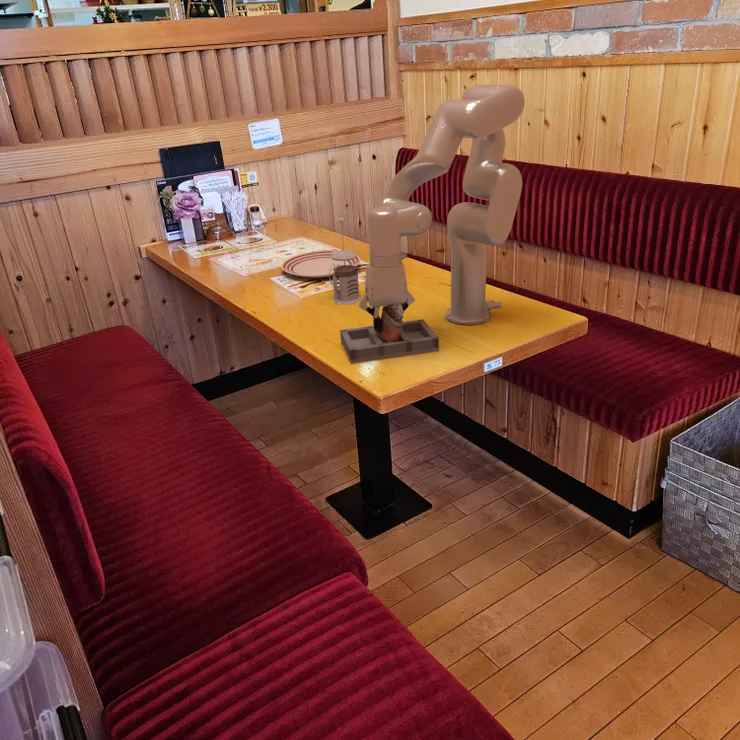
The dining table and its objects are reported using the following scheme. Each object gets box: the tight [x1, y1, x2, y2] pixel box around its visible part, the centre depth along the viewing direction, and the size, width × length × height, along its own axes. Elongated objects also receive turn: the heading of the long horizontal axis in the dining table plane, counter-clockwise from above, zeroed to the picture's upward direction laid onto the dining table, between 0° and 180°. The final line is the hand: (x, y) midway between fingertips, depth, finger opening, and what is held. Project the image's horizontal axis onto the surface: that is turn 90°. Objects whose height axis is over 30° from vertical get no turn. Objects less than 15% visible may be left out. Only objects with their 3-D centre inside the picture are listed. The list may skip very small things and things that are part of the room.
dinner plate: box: [281, 250, 361, 279], centre depth 233 cm, size 28×27×3 cm
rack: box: [339, 318, 440, 364], centre depth 171 cm, size 22×14×4 cm, turn 103°
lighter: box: [376, 305, 405, 343], centre depth 167 cm, size 8×3×10 cm, turn 28°
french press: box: [328, 217, 363, 305], centre depth 200 cm, size 10×12×25 cm
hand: (387, 328), depth 170 cm, fingers open, 4 cm apart
